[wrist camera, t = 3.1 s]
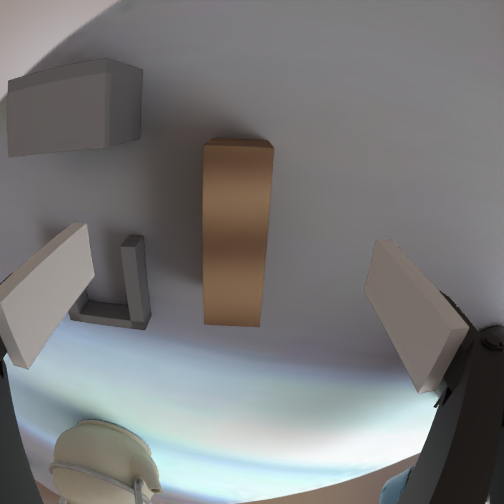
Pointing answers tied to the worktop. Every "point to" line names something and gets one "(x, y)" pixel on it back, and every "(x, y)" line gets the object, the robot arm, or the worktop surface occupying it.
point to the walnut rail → (235, 229)
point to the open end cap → (136, 293)
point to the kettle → (103, 466)
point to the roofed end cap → (74, 108)
